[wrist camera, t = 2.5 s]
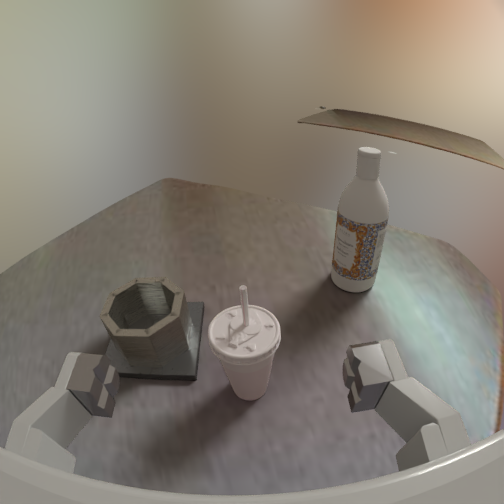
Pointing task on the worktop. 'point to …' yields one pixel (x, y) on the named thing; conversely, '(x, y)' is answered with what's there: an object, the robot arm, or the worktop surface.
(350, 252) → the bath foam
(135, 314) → the octagonal cup holder
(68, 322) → the worktop surface
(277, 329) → the smoothie
